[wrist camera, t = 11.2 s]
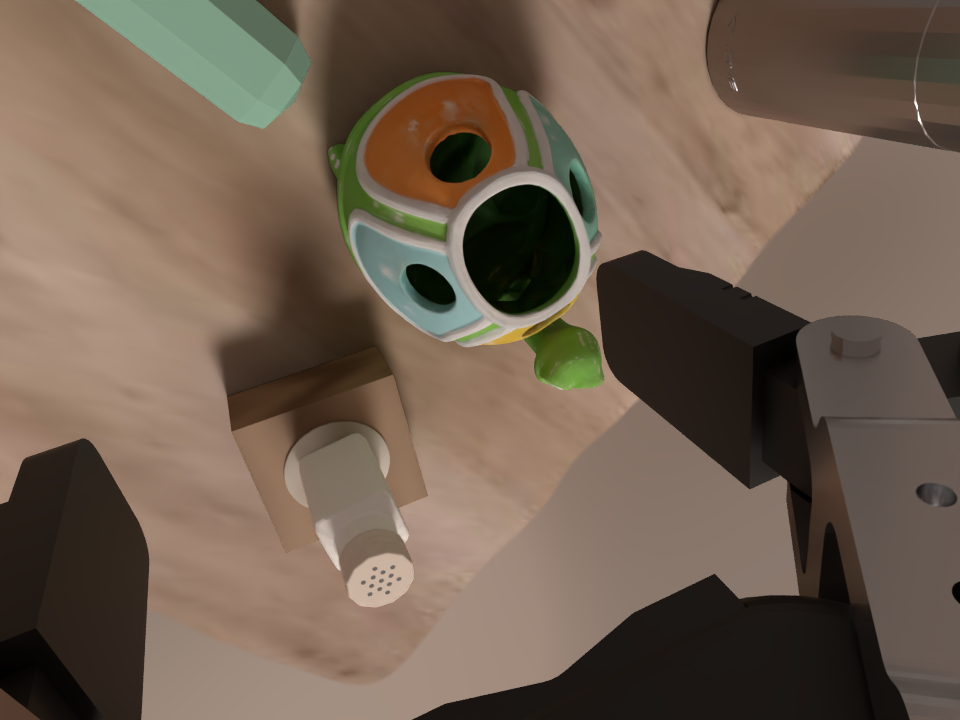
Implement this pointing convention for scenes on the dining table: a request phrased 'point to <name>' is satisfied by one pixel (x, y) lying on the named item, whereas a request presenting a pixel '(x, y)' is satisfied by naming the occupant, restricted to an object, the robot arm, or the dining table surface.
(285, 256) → the dining table surface
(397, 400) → the base
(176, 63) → the container
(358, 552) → the salt shaker
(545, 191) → the turtle holder
